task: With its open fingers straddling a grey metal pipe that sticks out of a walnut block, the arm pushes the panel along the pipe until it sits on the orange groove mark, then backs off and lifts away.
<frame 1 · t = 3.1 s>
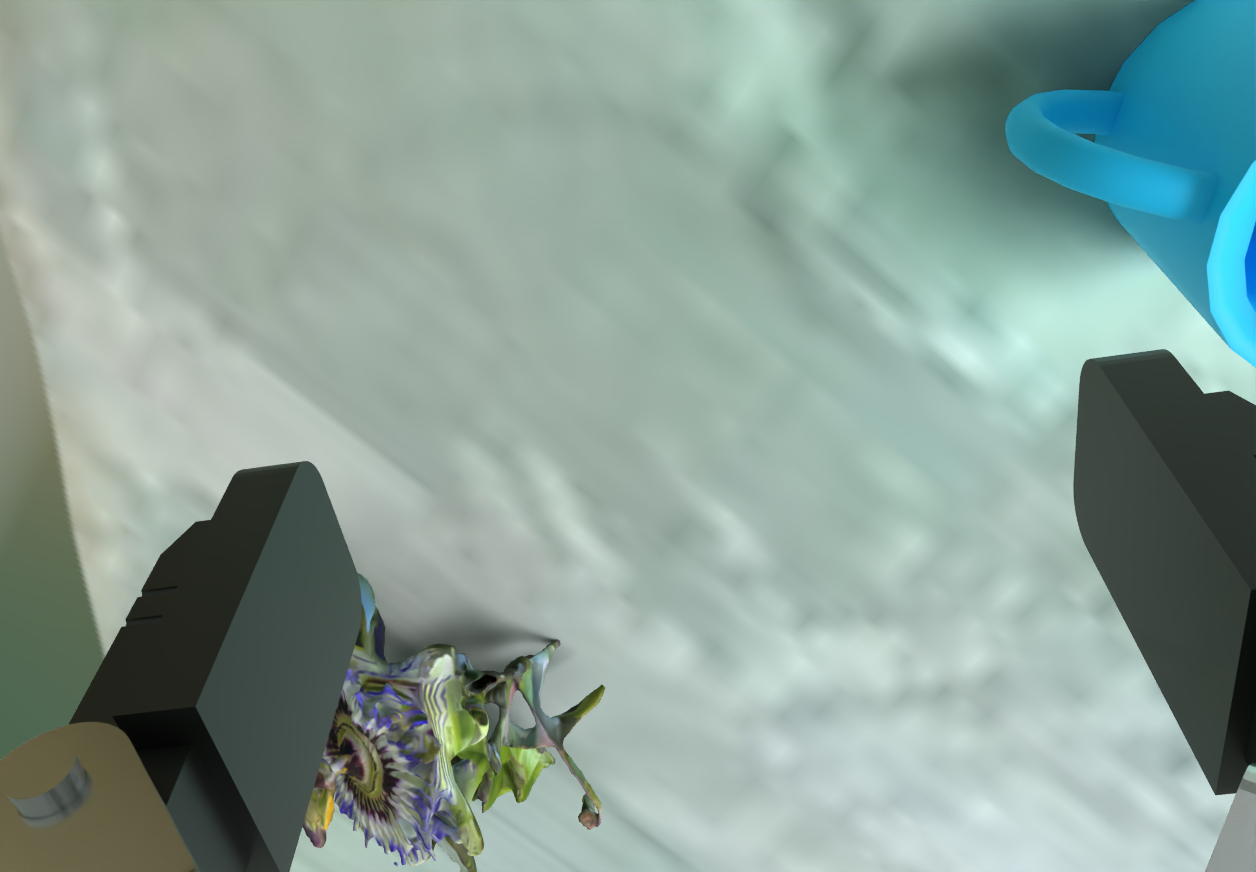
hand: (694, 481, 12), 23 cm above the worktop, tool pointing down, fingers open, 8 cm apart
mug: (1170, 112, 34), on the worktop
passion flower: (462, 640, 45), on the worktop
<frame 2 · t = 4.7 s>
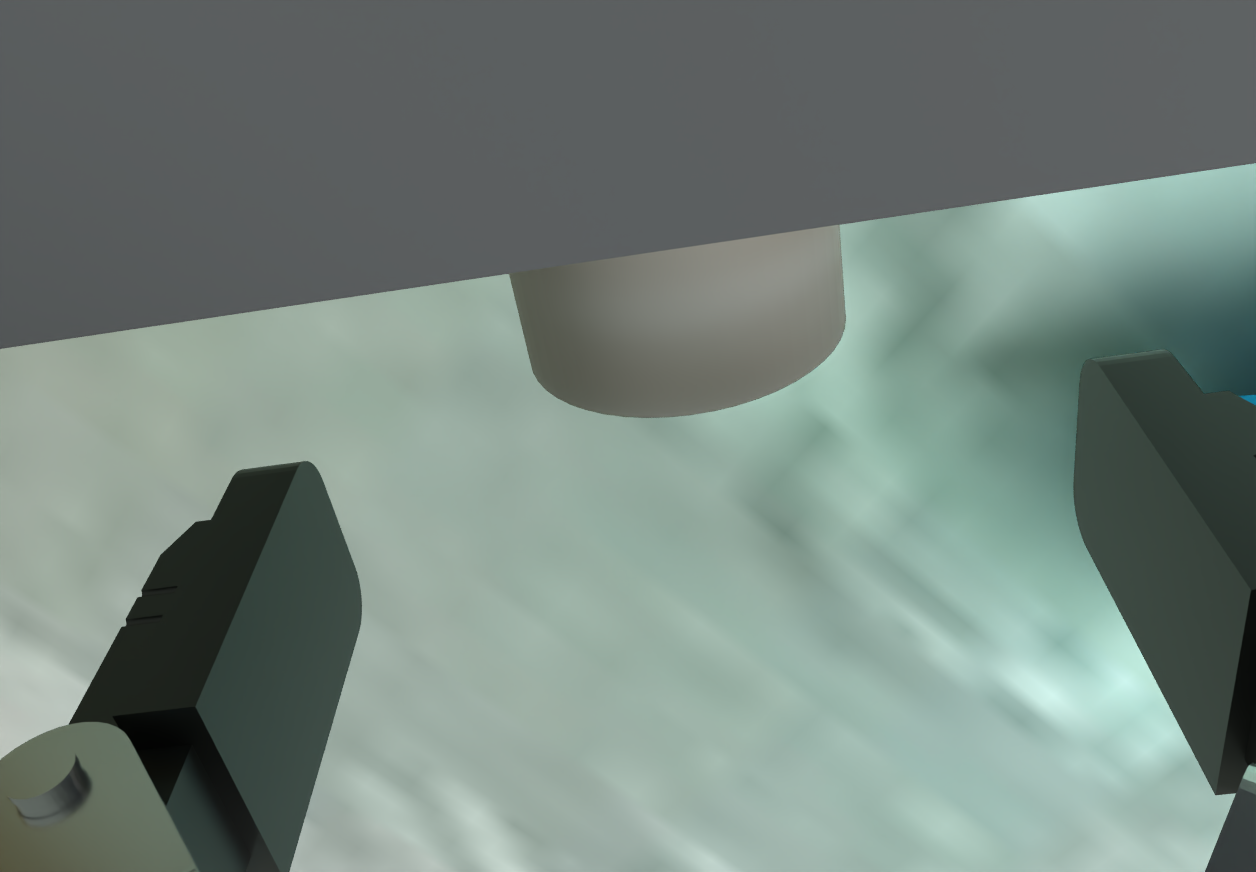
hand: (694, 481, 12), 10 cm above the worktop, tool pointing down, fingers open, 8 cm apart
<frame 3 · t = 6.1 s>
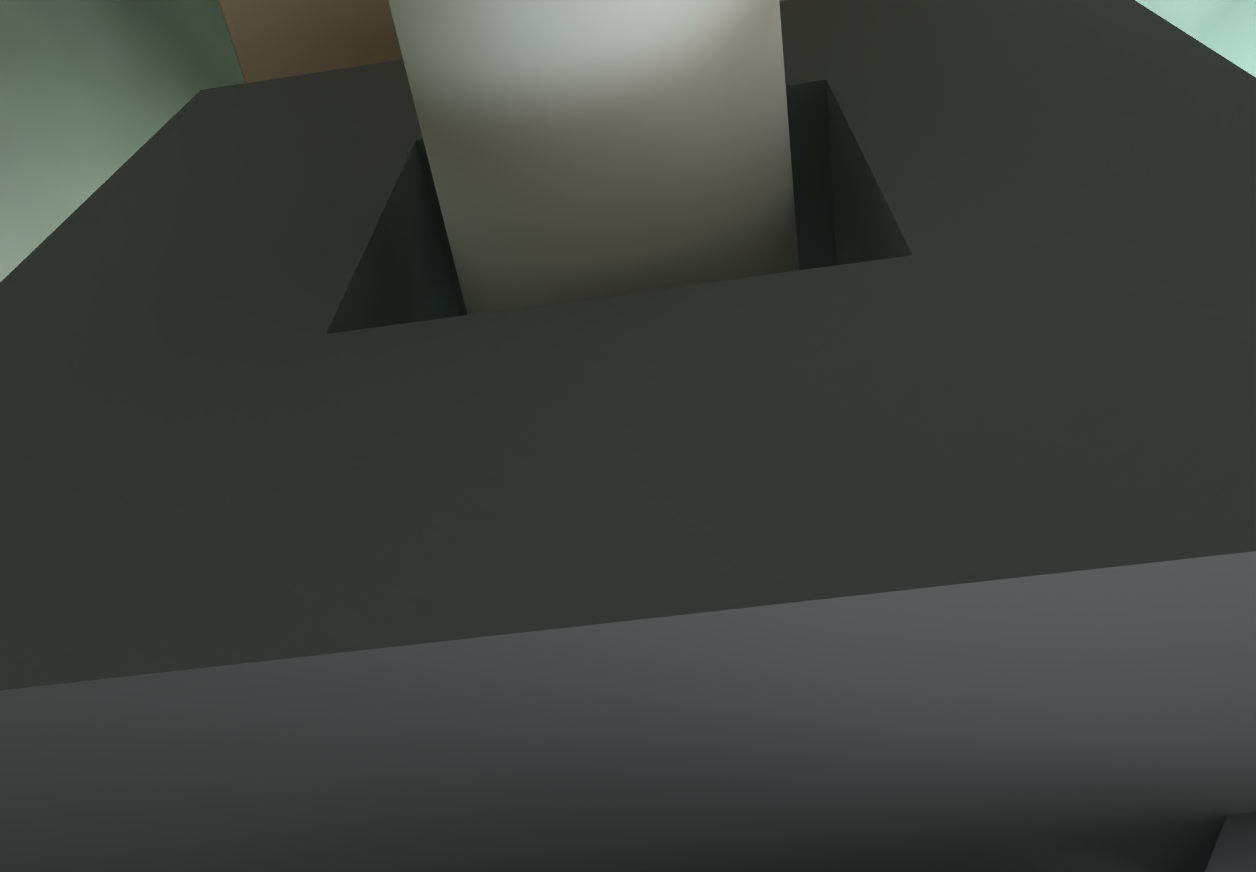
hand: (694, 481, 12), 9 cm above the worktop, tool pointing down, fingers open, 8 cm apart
panel: (636, 310, 11), point 10 cm above the worktop, slide at 1.0 cm, touching gripper
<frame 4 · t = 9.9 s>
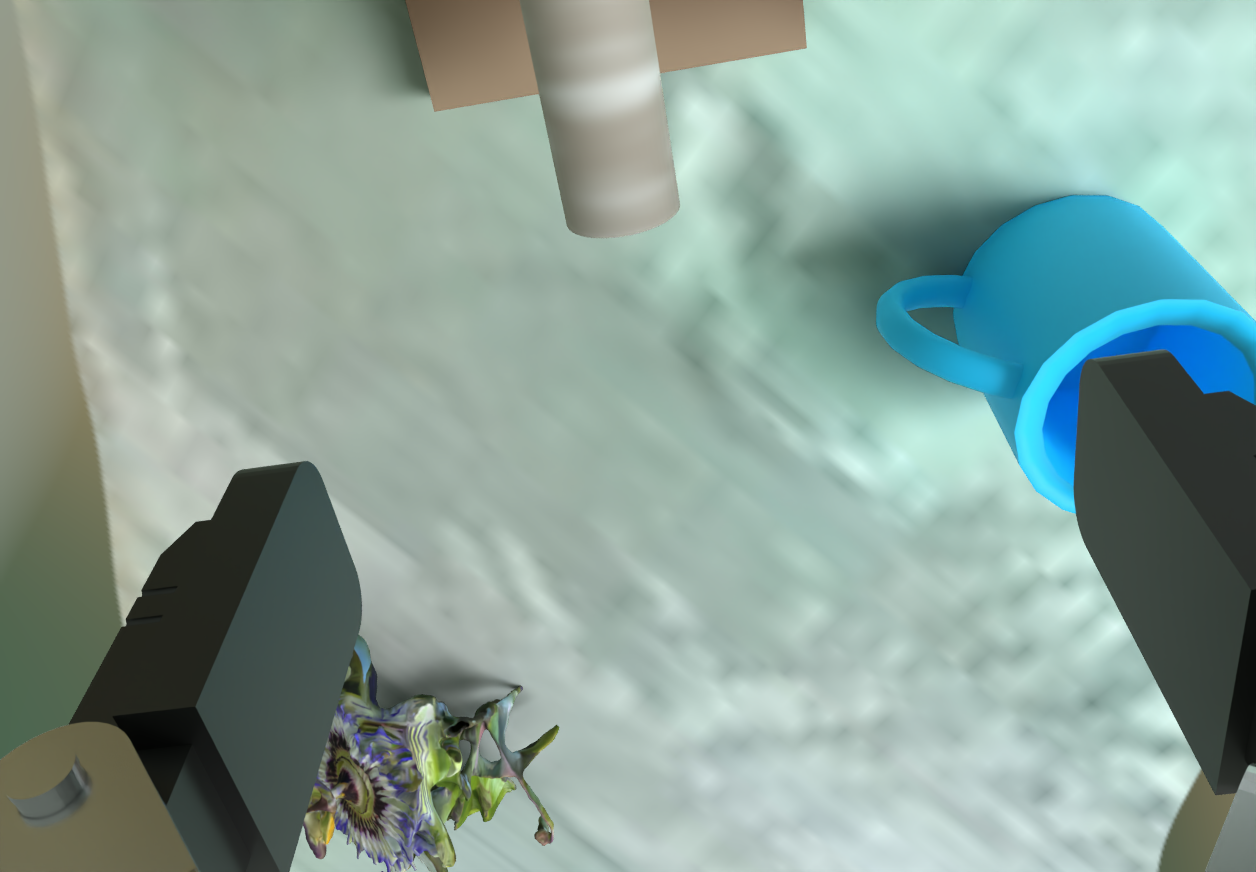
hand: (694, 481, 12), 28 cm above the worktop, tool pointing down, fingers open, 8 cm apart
mug: (1013, 288, 43), on the worktop
passion flower: (440, 685, 54), on the worktop
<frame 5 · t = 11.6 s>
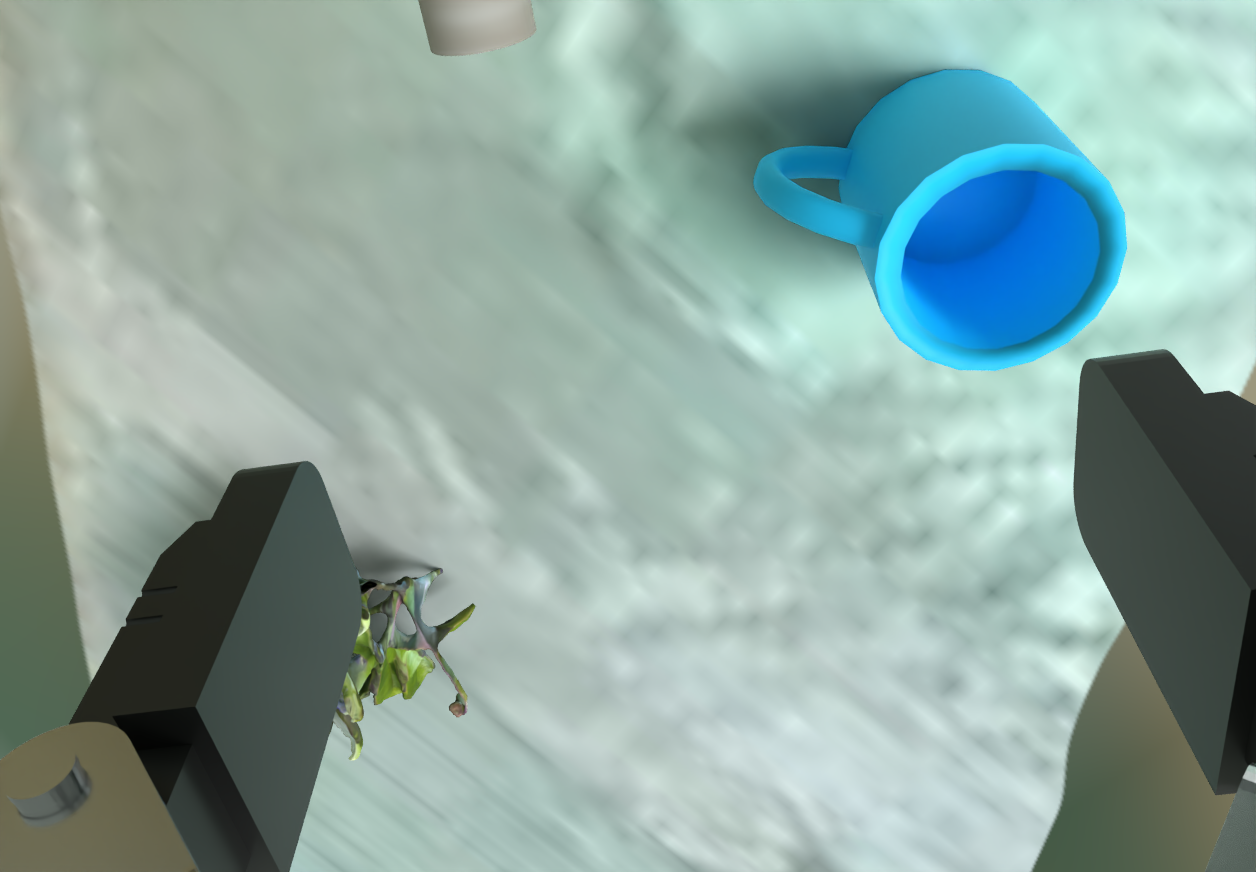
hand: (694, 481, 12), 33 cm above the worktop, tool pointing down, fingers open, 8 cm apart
mug: (895, 164, 45), on the worktop
passion flower: (363, 567, 56), on the worktop
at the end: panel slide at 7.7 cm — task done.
